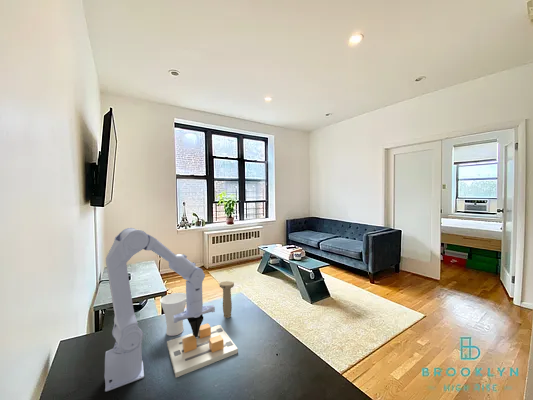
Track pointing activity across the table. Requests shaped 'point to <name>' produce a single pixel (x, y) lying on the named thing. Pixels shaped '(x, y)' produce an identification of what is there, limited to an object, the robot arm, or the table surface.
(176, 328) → the cup
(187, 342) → the tab middle
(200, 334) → the tab far
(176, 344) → the switch board
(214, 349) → the orange block
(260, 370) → the table surface
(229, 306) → the handle
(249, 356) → the table surface
